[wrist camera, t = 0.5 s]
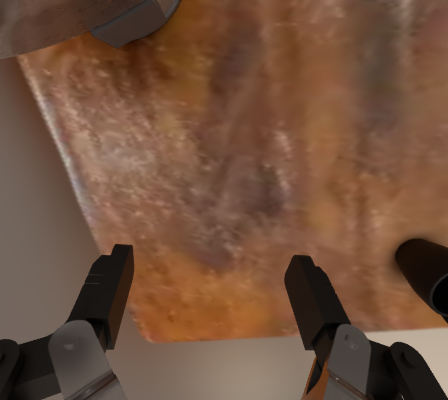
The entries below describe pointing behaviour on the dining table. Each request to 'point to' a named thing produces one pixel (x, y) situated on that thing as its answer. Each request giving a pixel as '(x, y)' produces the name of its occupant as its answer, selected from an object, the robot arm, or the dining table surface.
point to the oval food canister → (136, 22)
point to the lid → (52, 21)
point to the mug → (426, 272)
